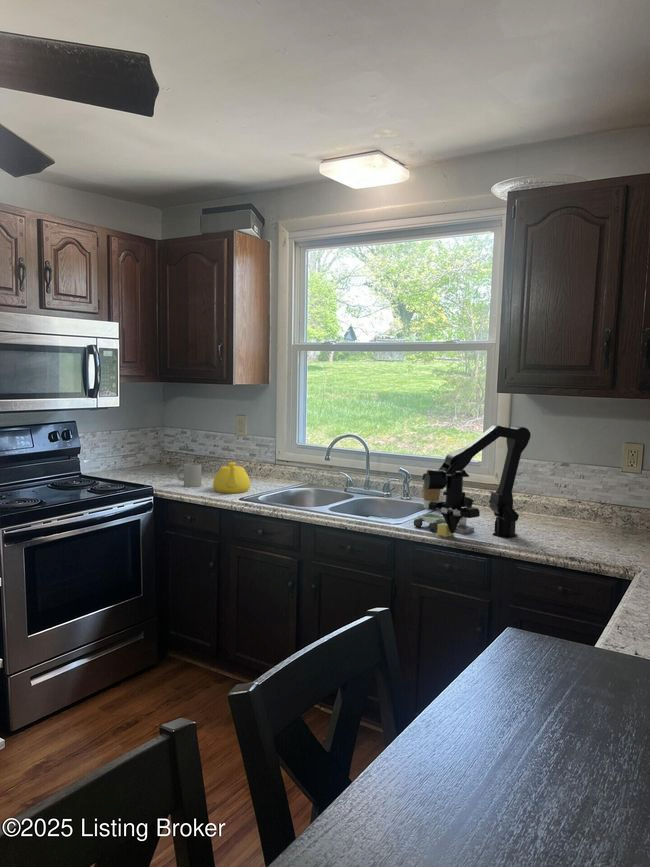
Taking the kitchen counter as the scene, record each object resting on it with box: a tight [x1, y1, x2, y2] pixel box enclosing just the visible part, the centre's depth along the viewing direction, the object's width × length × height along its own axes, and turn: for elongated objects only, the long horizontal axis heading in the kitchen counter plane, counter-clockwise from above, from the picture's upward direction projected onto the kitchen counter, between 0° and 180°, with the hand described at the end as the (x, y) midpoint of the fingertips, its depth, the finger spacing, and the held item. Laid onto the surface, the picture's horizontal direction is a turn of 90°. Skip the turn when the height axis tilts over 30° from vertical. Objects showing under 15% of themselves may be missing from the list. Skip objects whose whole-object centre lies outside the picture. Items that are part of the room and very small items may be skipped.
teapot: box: [212, 461, 251, 494], centre depth 303 cm, size 25×18×14 cm
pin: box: [458, 517, 468, 529], centre depth 232 cm, size 3×3×8 cm
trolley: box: [413, 513, 447, 533], centre depth 236 cm, size 11×10×4 cm
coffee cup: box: [421, 473, 441, 510], centre depth 272 cm, size 8×8×15 cm
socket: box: [454, 525, 475, 535], centre depth 232 cm, size 6×6×2 cm
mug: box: [176, 462, 202, 488], centre depth 314 cm, size 12×8×11 cm
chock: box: [436, 523, 454, 538], centre depth 226 cm, size 4×4×4 cm
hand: (452, 532), depth 223 cm, fingers closed
